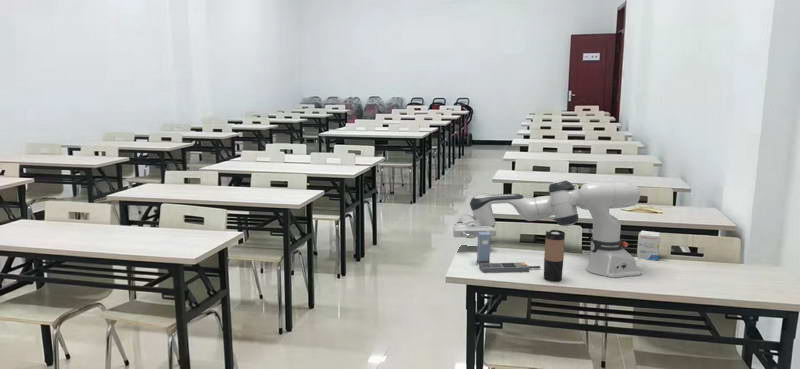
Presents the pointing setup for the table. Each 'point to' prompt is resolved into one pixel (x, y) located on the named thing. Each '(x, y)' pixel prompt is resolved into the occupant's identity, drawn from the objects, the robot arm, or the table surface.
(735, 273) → the table surface
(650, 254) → the ink box
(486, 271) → the power strip
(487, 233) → the blue rectangular block
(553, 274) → the travel mug
